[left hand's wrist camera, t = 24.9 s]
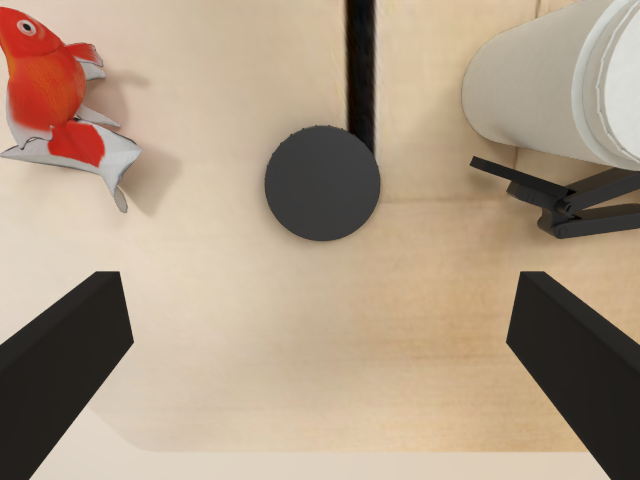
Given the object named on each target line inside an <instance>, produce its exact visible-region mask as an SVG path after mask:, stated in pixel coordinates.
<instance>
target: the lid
mask: <svg viewBox="0 0 640 480" xmlns="http://www.w3.org/2000/svg"><path fill="white" fill-rule="evenodd" d="M272 155H273V156H272V157H271V159H270V161H269V164H268V166H267V171H266V175H265V193H266V198H267V201H268V204H269V206H270V209H271V211H272V212H273V214H274V216H275V217H276V218H277V220H278V221H279V222H280V223H281V224H282V225H283V226H284V227H285V228H286V229H288V230H289V231H291V232H292V233H294V234H296V235H298V236H300V237H303V238H306V239H309V240H315V241H330V240H335V239H340V238H342V237H345V236H347V235H349V234H351V233H353V232H354V231H356V230H357V229H359V228H360V227H361V226H362V225H363V224H364V223H365V222H366V221H367V220H368V218H369V217H370V215H371V214H372V212H373V211H374V209H375V206H376V204H377V201H378V198H379V193H380V175H379V170H378V166H377V164H376V161H375V159H374V157H373V154H372V153H371V152H370V151H369V149H368V148H367V147H366V146H365V143H364V142H361V141H360V140H359V139H358V138H357V137H355V135H354V134H353V135H352V134H351V133H349V132H347V131H345V130H343V128H341V129H340V128H337V127H332V126H330V125H329V126H317V125H315V126H313V127H309V128H305V129H304V128H303V129H302V130H300V131H298V132H296V133H294V134H291V135H290V137H288V138H287V139H286V140H285V141H284V142H281V143H280V146H279V147H278V148H277V150H276V151H275V152H274V153H273V154H272Z"/></svg>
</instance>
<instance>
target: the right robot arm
mask: <svg viewBox="0 0 640 480" xmlns="http://www.w3.org/2000/svg"><path fill="white" fill-rule="evenodd" d="M470 166H472V167H475V168H477V169H480V170H482V171H485V172H488V173H491V174H494V175H497V176H500V177H503V178H506V179H509V180H512V181H511V183H510V185H509V187H508V189H507V191H506V192H507V193H508V194H510V195H511V196H512V197H514V198H517V199H519V200H521V201H524V202H527V203H530V204H533V205H536V206H539V207H541V208H542V217H540V218H539V220H538V222H537V226H538V227H539V228H540V229H542V230H544V231H545V232H547V233H549V234H551V235H552V236H554V237H556V238H558V239H564V238H572V237H579V236H586V235H594V234H601V233H608V232H615V231H623V230H630V229H637V228H640V204H622V205H615V206H608V207H601V208H594V209H587V210H582V209H585V208H588V207H590V206H593V205H596V204H599V203H601V202H604V201H607V200H610V199H612V198H615V197H618V196H621V195H623V194H626V193H629V192H632V191H634V190H637V189H640V171H633V170H627V169H622V168H617V167H615V168H613V169H610V170H607V171H605V172H602V173H599V174H597V175H594V176H591V177H588V178H586V179H583V180H580V181H578V182H575V183H572V184H570V185H567V186H564V187H563V186H560V185H557V184H554V183H551V182H548V181H546V180H543V179H540V178H537V177H534V176H531V175H528V174H525V173H522V172H519V171H516V170H513V169H510V168H507V167H504V166H502V165H499V164H496V163H493V162H490V161H487V160H484V159H481V158H478V157H475V156H473V158H472V161H471V163H470ZM579 210H580V211H579Z"/></svg>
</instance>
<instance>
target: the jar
mask: <svg viewBox="0 0 640 480" xmlns="http://www.w3.org/2000/svg"><path fill="white" fill-rule="evenodd" d="M462 106H463V110H464V113H465V116H466V118H467V120H468V122H469V123H470V125H471V126H472V127H473V129H474V130H475V131H476V132H477V133H479V134H480V135H481V136H483V137H484V138H486V139H489V140H491V141H494V142H498V143H503V144H508V145H512V146H517V147H522V148H527V149H531V150H536V151H541V152H546V153H550V154H555V155H560V156H565V157H569V158H574V159H579V160H584V161H588V162H593V163H598V164H603V165H607V166H612V167H617V168H622V169H627V170H633V171H640V0H581V1H578V2H576V3H573V4H571V5H568V6H566V7H563V8H561V9H558V10H556V11H554V12H551V13H549V14H546V15H544V16H541V17H539V18H536V19H534V20H531V21H529V22H526V23H524V24H521V25H519V26H516V27H514V28H511V29H509V30H507V31H504V32H502V33H500V34H498V35H496V36H494V37H493V38H492V39H490V40H489V41H488V42H486V43H485V44H484V45H483V46H482V47H481V48H480V49H479V51H478V52H477V53H476V54H475V56H474V57H473V59H472V60H471V62H470V64H469V66H468V68H467V70H466V73H465V76H464V80H463V84H462Z"/></svg>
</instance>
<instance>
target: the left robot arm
mask: <svg viewBox="0 0 640 480" xmlns="http://www.w3.org/2000/svg"><path fill="white" fill-rule="evenodd" d="M133 343H134V340H133V335H132V330H131V325H130V320H129V316H128V311H127V306H126V301H125V296H124V291H123V286H122V281H121V277H120V272H119V271H96V272H95V273H93V274H92V275H91V276H89V277H88V278H87V279H86V280H84V281H83V282H82V283H80V284H79V285H78V286H76V287H75V288H74V289H73V290H71V291H70V292H69V293H67V294H66V295H65V296H63V297H62V298H61V299H60V300H58V301H57V302H56V303H54V304H53V305H52V306H50V307H49V308H48V309H47V310H45V311H44V312H43V313H41V314H40V315H39V316H37V317H36V318H35V319H34V320H32V321H31V322H30V323H28V324H27V325H26V326H24V327H23V328H22V329H21V330H19V331H18V332H17V333H15V334H14V335H13V336H11V337H10V338H9V339H8V340H6V341H5V342H4V343H2V344H1V345H0V480H29V479H30V478H31V476H32V475H33V474H34V472H35V471H36V470H37V468H38V467H39V466H40V465H41V463H42V462H43V461H44V459H45V458H46V457H47V455H48V454H49V453H50V452H51V450H52V449H53V448H54V446H55V445H56V444H57V442H58V441H59V440H60V438H61V437H62V436H63V435H64V433H65V432H66V431H67V429H68V428H69V427H70V425H71V424H72V423H73V421H74V420H75V419H76V418H77V416H78V415H79V414H80V412H81V411H82V410H83V408H84V407H85V406H86V404H87V403H88V402H89V401H90V399H91V398H92V397H93V395H94V394H95V393H96V391H97V390H98V389H99V387H100V386H101V385H102V384H103V382H104V381H105V380H106V378H107V377H108V376H109V374H110V373H111V372H112V370H113V369H114V368H115V367H116V365H117V364H118V363H119V361H120V360H121V359H122V357H123V356H124V355H125V353H126V352H127V351H128V350H129V348H130V347H131V346H132V344H133ZM506 343H507V344H508V346H509V347H510V348H511V350H512V351H513V352H514V353H515V355H516V356H517V357H518V359H519V360H520V361H521V363H522V364H523V365H524V367H525V368H526V369H527V370H528V372H529V373H530V374H531V376H532V377H533V378H534V380H535V381H536V382H537V384H538V385H539V386H540V387H541V389H542V390H543V391H544V393H545V394H546V395H547V397H548V398H549V399H550V401H551V402H552V403H553V404H554V406H555V407H556V408H557V410H558V411H559V412H560V414H561V415H562V416H563V418H564V419H565V420H566V421H567V423H568V424H569V425H570V427H571V428H572V429H573V431H574V432H575V433H576V435H577V436H578V437H579V438H580V440H581V441H582V442H583V444H584V445H585V446H586V448H587V449H588V450H589V452H590V453H591V454H592V455H593V457H594V458H595V459H596V461H597V462H598V463H599V465H600V466H601V467H602V468H603V470H604V471H605V472H606V474H607V475H608V476H609V478H610V479H611V480H640V345H639V344H638V343H636V342H635V341H634V340H632V339H631V338H630V337H629V336H627V335H626V334H625V333H623V332H622V331H621V330H619V329H618V328H617V327H616V326H614V325H613V324H612V323H610V322H609V321H608V320H606V319H605V318H604V317H603V316H601V315H600V314H599V313H597V312H596V311H595V310H593V309H592V308H591V307H590V306H588V305H587V304H586V303H584V302H583V301H582V300H580V299H579V298H578V297H577V296H575V295H574V294H573V293H571V292H570V291H569V290H567V289H566V288H565V287H564V286H562V285H561V284H560V283H558V282H557V281H556V280H554V279H553V278H552V277H551V276H549V275H548V274H547V273H545V272H544V271H521V272H520V277H519V281H518V286H517V291H516V296H515V301H514V306H513V311H512V316H511V320H510V325H509V330H508V335H507V340H506Z"/></svg>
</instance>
